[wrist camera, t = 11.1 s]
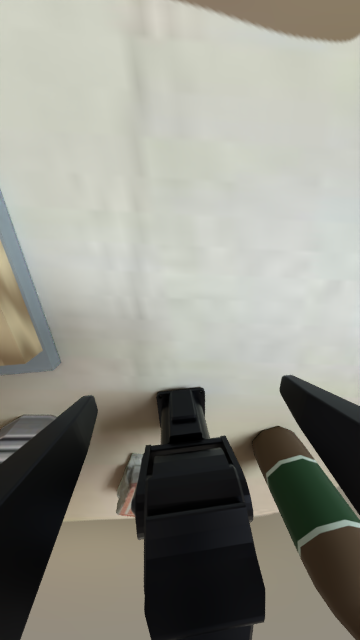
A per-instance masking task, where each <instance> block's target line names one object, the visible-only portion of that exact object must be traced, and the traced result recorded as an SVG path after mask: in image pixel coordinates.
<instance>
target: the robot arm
mask: <svg viewBox="0 0 360 640" xmlns="http://www.w3.org/2000/svg"><path fill="white" fill-rule="evenodd" d="M200 391H202V392H200ZM280 393H281V395H282V397H283V399H284V401H285V403H286V404H287V406H288V408H289V410H290V411H291V413H292V415H293V417H294V419H295V420H296V422H297V424H298V425H299V427H300V428H301V430H302V431H303V433H304V434H305V436H306V437H307V439H308V440H309V442H310V443H311V445H312V446H313V448H314V449H315V451H316V452H317V453H318V455H319V456H320V458H321V459H322V461H323V462H324V464H325V465H326V467H327V468H328V470H329V471H330V473H331V474H332V475H333V477H334V478H335V480H336V481H337V483H338V484H339V486H340V487H341V489H342V490H343V491H344V493H345V495H346V496H347V497H348V499H349V500H350V502H351V503H352V505H353V506H354V508H355V509H356V510H357V512H358V514H359V515H360V406H358V405H356V404H354V403H352V402H349V401H347V400H345V399H343V398H341V397H339V396H336V395H334V394H332V393H330V392H328V391H325V390H323V389H321V388H319V387H317V386H315V385H312V384H310V383H308V382H306V381H304V380H302V379H299V378H297V377H295V376H293V375H286V376H283V377H282V379H281V384H280ZM157 405H158V412H159V420H160V427H161V445H154V446H151V445H146V448H145V453H144V454H143V457H142V459H141V467H140V473H139V478H138V483H137V486H136V489H135V492H134V495H133V498H132V502H131V511H132V512H133V514H134V515H135V519H136V529H137V537H138V539H139V540H141V539H144V594H145V606H144V610H145V617H146V621H147V625H148V629H149V633H150V637H151V640H252V632H253V625H254V624H257V623H262V622H264V619H265V587H264V583H263V579H262V575H261V571H260V567H259V564H258V560H257V556H256V551H255V547H254V542H253V537H252V532H251V528H250V523H249V522H252V521H253V508H252V502H251V497H250V493H249V489H248V485H247V482H246V479H245V476H244V474H243V471H242V469H241V467H240V465H239V463H238V461H237V458H236V456H235V454H234V452H233V450H232V448H231V446H230V444H229V442H228V440H227V438H226V436H220V437H218V438H210V436H209V432H208V428H207V424H206V420H205V391H204V389H203V388H193V389H183V390H174V391H164V392H158V393H157ZM97 413H98V409H97V405H96V402H95V398H94V396H92V395H89V396H83V397H82V398H80V399H79V400H78V401H77V402H75V403H74V404H73V405H72V406H71V407H69V408H68V409H67V410H66V411H64V412H63V413H62V414H61V415H60V416H58V417H57V418H56V419H55V420H53V421H52V422H51V423H50V424H49V425H47V426H46V427H45V428H44V429H42V430H41V431H40V432H39V433H38V434H36V435H35V436H34V437H33V438H31V439H30V440H29V441H28V442H27V443H25V444H24V445H23V446H22V447H20V448H19V449H18V450H17V451H16V452H14V453H13V454H12V455H11V456H9V457H8V458H7V459H6V460H5V461H3V462H2V463H1V464H0V640H20V639H21V636H22V633H23V631H24V628H25V625H26V622H27V619H28V617H29V613H30V611H31V608H32V605H33V603H34V600H35V597H36V594H37V591H38V589H39V586H40V583H41V580H42V578H43V575H44V572H45V569H46V566H47V563H48V561H49V558H50V555H51V552H52V550H53V547H54V544H55V541H56V538H57V536H58V533H59V530H60V527H61V525H62V522H63V519H64V516H65V513H66V511H67V508H68V505H69V502H70V499H71V497H72V494H73V491H74V488H75V486H76V483H77V480H78V477H79V474H80V472H81V469H82V466H83V463H84V460H85V458H86V455H87V452H88V448H89V445H90V441H91V437H92V433H93V429H94V425H95V421H96V417H97Z"/></svg>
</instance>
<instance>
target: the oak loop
mask: <svg viewBox="0 0 360 640" xmlns="http://www.w3.org/2000/svg"><path fill="white" fill-rule="evenodd" d="M41 351H43V349H42V347H41V344H40V341H39V339H38V336H37V334H36V331H35V328H34V326H33V323H32V321H31V318H30V315H29V313H28V310H27V308H26V305H25V302H24V300H23V297H22V295H21V292H20V289H19V287H18V284H17V282H16V279H15V276H14V274H13V271H12V269H11V266H10V263H9V261H8V258H7V256H6V253H5V250H4V248H3V245H2V242H1V240H0V366H6V365H17V364H26V363H27V362H28V361H30V360H31V359H32V358H34V357H35V356H36V355H38V354H39V353H40V352H41Z"/></svg>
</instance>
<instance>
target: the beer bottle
mask: <svg viewBox="0 0 360 640" xmlns="http://www.w3.org/2000/svg"><path fill="white" fill-rule="evenodd" d="M252 444H253V450H254V455H255V458H256V460H257V463H258V465H259V467H260V470H261V472H262V474H263V476H264V479H265V481H266V483H267V485H268V487H269V490H270V492H271V494H272V496H273V498H274V501H275V503H276V505H277V507H278V509H279V512H280V514H281V516H282V518H283V520H284V523H285V525H286V527H287V529H288V531H289V534H290V536H291V538H292V540H293V542H294V545H295V546H296V549H297V551H298V553H299V556H300V557H301V560H302V562H303V564H304V566H305V568H306V570H307V572H308V574H309V576H310V578H311V580H312V582H313V584H314V586H315V587H316V589H317V591H318V592H319V593H320V595H321V596H322V598H323V599H324V601H325V602H326V604H327V605H328V607H329V608H330V610H331V611H332V612H333V614H334V615H335V617H336V618H337V619H338V620H339V621H340V622H341V624H342V625H343V626H344V627H345V628H346V629H347V630H348V631H349V632H350V634H351V635H352V636H353V637H354V638H355V639H356V640H360V520H359V519H358V517H357V516H356V515H355V513H354V512H353V511H352V509H351V508H350V507H349V505H348V504H347V502H346V501H345V500H344V498H343V497H342V496H341V494H340V493H339V492H338V490H337V489H336V488H335V486H334V485H333V484H332V482H331V481H330V480H329V478H328V477H327V476H326V474H325V473H324V472H323V470H322V469H321V468H320V466H319V465H318V463H317V462H316V461H315V459H314V458H313V457H312V455H311V454H310V453H309V451H308V450H307V449H306V447H305V446H304V445H303V443H302V442H301V441H300V440H299V438H298V437H297V436H296V435H295V434H294V432H292V431H290V430H288V429H285V428H282V427H280V426H278V427H274V428H270V429H267V430H263V431H262V432H261V433H260V434H259V435H258V436H257V437H256V438H255V439H254V440H253V441H252Z"/></svg>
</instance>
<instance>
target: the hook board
mask: <svg viewBox="0 0 360 640" xmlns="http://www.w3.org/2000/svg"><path fill="white" fill-rule="evenodd" d="M0 240H1V242H2V245H3V248H4V250H5V253H6V256H7V258H8V261H9V263H10V266H11V269H12V271H13V274H14V276H15V279H16V282H17V284H18V287H19V289H20V292H21V295H22V297H23V300H24V302H25V305H26V308H27V310H28V313H29V315H30V318H31V321H32V323H33V326H34V328H35V331H36V334H37V336H38V339H39V341H40V344H41V347H42V349H43V351H41V352H40V353H39V354H38V355H36V356H35V357H34V358H32V359H31V360H30V361H28V362H27V363H26V364H17V365H6V366H0V375H9V374H20V373H31V372H41V371H52V370H54V369H55V368H56V367H57V366H58V365H59V364H60V363H61V361H60V358H59V355H58V353H57V350H56V347H55V344H54V341H53V338H52V335H51V333H50V330H49V327H48V324H47V321H46V318H45V315H44V313H43V310H42V307H41V304H40V301H39V298H38V295H37V293H36V290H35V287H34V284H33V281H32V278H31V276H30V273H29V270H28V267H27V264H26V261H25V258H24V256H23V253H22V250H21V247H20V244H19V241H18V238H17V236H16V233H15V230H14V227H13V224H12V221H11V218H10V216H9V213H8V210H7V207H6V204H5V201H4V198H3V196H2V193H1V190H0Z"/></svg>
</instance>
